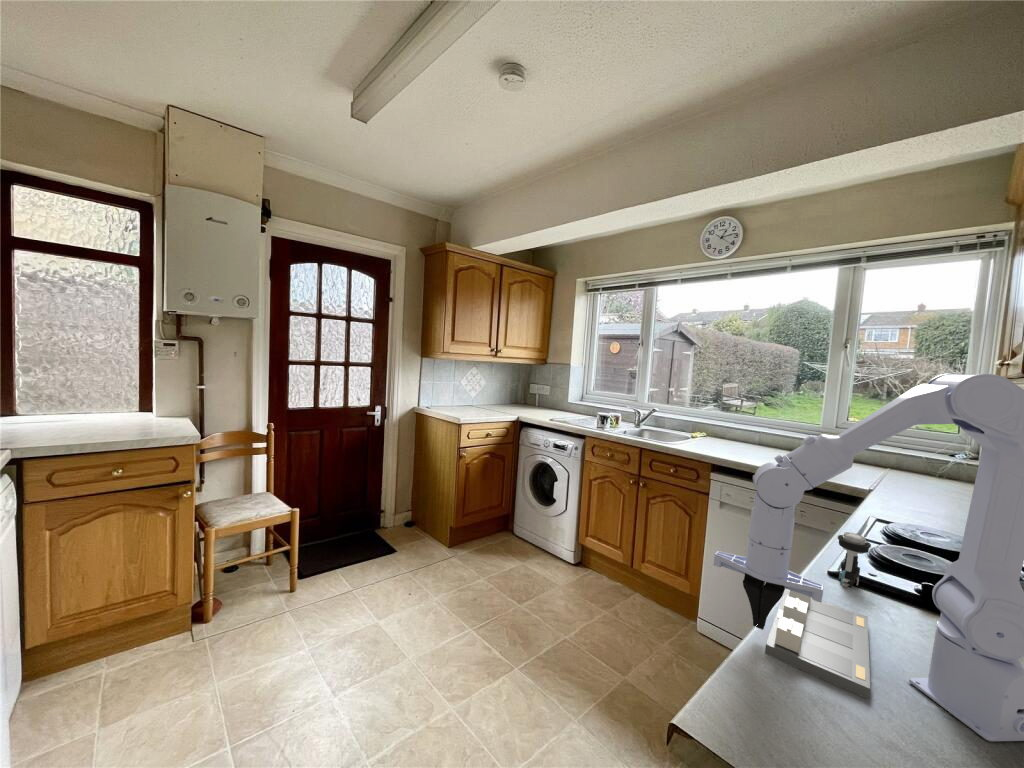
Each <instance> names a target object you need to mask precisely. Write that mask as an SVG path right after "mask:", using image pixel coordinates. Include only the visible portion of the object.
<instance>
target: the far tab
mask: <svg viewBox="0 0 1024 768" xmlns="http://www.w3.org/2000/svg"><path fill="white" fill-rule="evenodd" d="M789 597H792V598H795V599H796V598H799V600H801V601H803V602H806V603H808V608H809V604H810V600H811V597H809V596H806V595H803V594H800V593H797V592H794V591H791V590H790V592H789Z"/></svg>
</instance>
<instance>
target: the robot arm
mask: <svg viewBox="0 0 1024 768" xmlns="http://www.w3.org/2000/svg"><path fill="white" fill-rule="evenodd" d="M952 424H954V425H956V426H957V427H959V428H960V429H961V430H962V431H963V432H965V433H966V434H967V435H968V436H969V437H970V438H971V439H973V440H974V441H975V442H976V443H977V444H979V445H980V447H981V452H980V457H979V461H978V468H977V471H976V472H977V473H976V476H975V481H974V486H973V491H972V495H971V500H970V504H969V507H968V508H969V509H968V515H967V519H966V524H965V528H964V533H963V537H962V541H961V547H960V552H959V556H958V559H957V560H956V561H955V560H954V561H953V562H951V563H950V564H947V566H946V570H945V573H944V575H943V577H942V578H941V579H940V580H939V581H937V583H935V585H934V586H933V588H932V591H931V592H932V593H931V594H932V595H931V596H932V600H933V603H934V605H935V607H936V608H937V610H939V611H940V615H939V616H940V618H938V620H937V622H936V626H935V627H936V628H935V632H934V633H935V634H934V640H933V641H934V642H933V646H932V651H931V652H932V653H931V658H930V659H931V660H930V664H929V665H930V666H929V673H928V677H910V678H908V682H909V683H910V684H912V686H915V687H916V688H917V689H918V690H920V692H922V693H923V694H924V695H926V696H927V697H929V698H930V699H931V700H933V701H934V702H936V703H937V704H938V705H939V706H941V707H942V708H943V709H945V710H946V711H948V712H949V714H950V715H953V716H954V717H955V718H956V719H958V720H959V721H961V722H962V723H963V724H965V725H966V726H967V727H968V728H969V729H971V730H973V731H974V732H975V733H976V734H977V735H979V736H981V737H982V738H983V739H984V740H985V741H988V742H1024V663H1022V662H1021V660H1020V659H1022V658H1024V589H1023V587H1022V585H1021V582H1020V579H1021V575H1022V570H1023V569H1022V568H1023V564H1024V389H1023V388H1022V387H1020V385H1018V384H1016V383H1015V382H1014V381H1012V380H1010V379H1009V378H1007V377H1005V376H1001V375H998V374H992V373H978V374H963V373H962V374H961V373H954V372H952V373H951V372H950V373H943V374H939V375H937V376H934V377H933V378H931V379H929V380H928V381H927V382H926V383H921V384H919V385H916V386H913V387H911V388H910V389H909V390H906V391H905V392H904V393H903V394H901V395H899V396H898V397H896V398H894V399H893V400H891V401H889V402H888V403H886V404H885V405H884V406H881V407H880V408H878V409H877V410H875V411H874V412H872V413H871V414H869V415H867V416H866V417H864V418H863V419H861V420H860V421H858V422H856V423H855V424H853V425H851V426H850V427H848V428H847V429H845V430H844V431H842V432H841V433H839V434H837V435H831V434H824V433H821V434H819V435H818V436H816V437H814V436H813V435H808V436H806V437H805V438H803V442H804V444H801V445H800V446H798V447H796V448H795V449H793V450H792V451H790V452H788V453H786V454H784V455H783V456H782V455H781V454H778V455H776V456H775V457H774V460H775V462H766V463H764V464H762V465H760V466H759V467H758V468H757V469H756V472H755V473H754V474H753V475H752V482H753V484H754V485H753V486H754V487H755V489H756V491H755V493H754V496H753V500H752V501H753V506H752V508H751V512H750V521H749V527H748V538H747V545H746V547H747V548H746V553H745V554H746V555H745V556H742V555H737V554H732V553H728V552H724V551H720V550H717V551H716V552H715V553H714V556H713V566H715V567H718V568H722V567H723V568H725V569H729V570H731V571H734V572H737V573H739V574H743V576H744V577H743V579H742V586H743V589H744V591H745V594H746V596H747V599H748V601H749V606H750V610H751V615H752V626H753V627H755V626H756V625H757V624H758V625H757V626H756V627H755V628H758V629H760V630H764V628H765V627H766V621H767V618H768V616H769V615H770V613H771V612H772V609H774V607H775V606H776V605H777V604H778V602H779V601H781V600H782V597H783V594H784V591H785V588H786V589H789V590H791V591H794V592H797V593H800V594H803V595H806V596H809V597H812V599H813V600H815V601H818V602H820V603H821V602H822V601H823V595H824V587H825V586H824V584H822V583H819V582H816V581H814V580H810V579H808V578H806V577H804V576H802V575H800V574H798V573H796V572H793V571H791V570H789V569H790V561H791V553H792V545H793V537H794V530H795V529H794V528H795V522H796V517H795V509H796V505H798V504H799V503H800V502H801V501H802V499H803V498H804V494H805V491H810V490H813V489H814V488H816V487H818V486H820V485H821V484H824V483H826V482H827V481H829V480H831V479H833V478H834V477H836V476H839V475H841V474H843V473H844V472H846V471H848V470H849V469H852V467H853V463H854V459H855V456H856V455H857V454H859V453H862V452H864V451H865V450H868V449H870V448H872V447H874V446H875V445H877V444H879V443H881V442H883V441H885V440H887V439H890V438H892V437H893V436H896V435H898V434H899V433H901V432H904V431H905V430H908V429H910V428H912V427H914V426H919V425H952Z"/></svg>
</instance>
